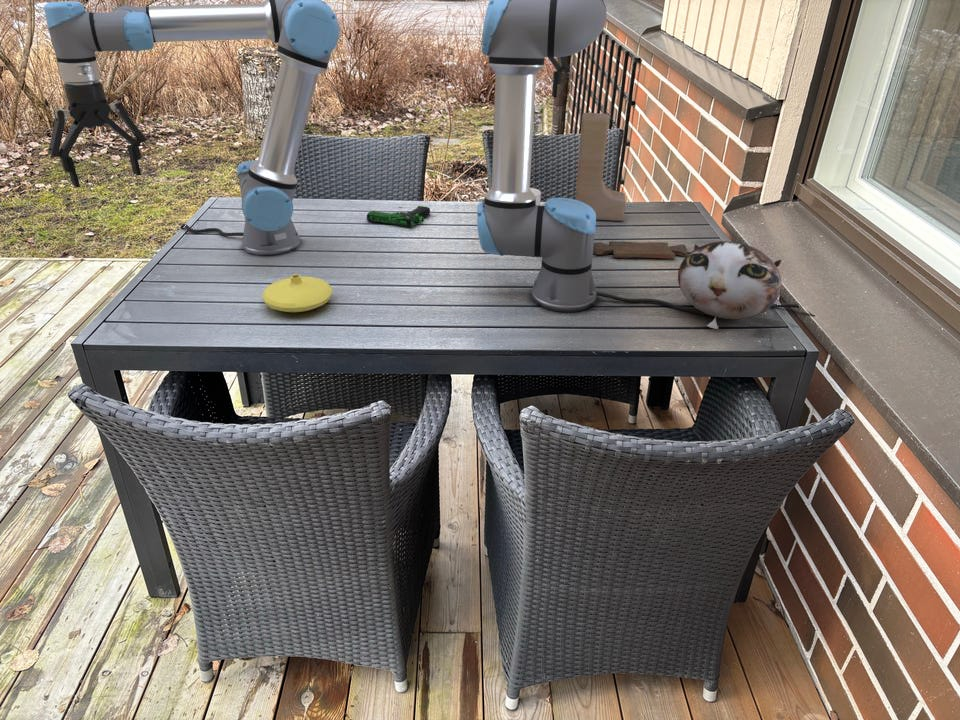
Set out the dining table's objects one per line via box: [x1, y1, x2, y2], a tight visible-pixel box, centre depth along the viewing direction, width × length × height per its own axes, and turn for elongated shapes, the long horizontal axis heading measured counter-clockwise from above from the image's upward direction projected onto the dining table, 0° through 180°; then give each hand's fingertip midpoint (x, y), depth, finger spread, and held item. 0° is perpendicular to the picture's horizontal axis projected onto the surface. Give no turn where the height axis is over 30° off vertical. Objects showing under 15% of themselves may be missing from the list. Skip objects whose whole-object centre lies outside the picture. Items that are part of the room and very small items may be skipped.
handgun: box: [366, 205, 431, 229], centre depth 216 cm, size 16×3×15 cm
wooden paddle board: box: [593, 240, 688, 259], centre depth 196 cm, size 26×2×10 cm
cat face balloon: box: [677, 240, 783, 330], centre depth 159 cm, size 22×18×20 cm
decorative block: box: [574, 112, 626, 222], centre depth 213 cm, size 8×15×30 cm, turn 82°
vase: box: [261, 273, 333, 313], centre depth 164 cm, size 16×16×7 cm
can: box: [530, 187, 542, 206], centre depth 215 cm, size 9×9×9 cm
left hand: (107, 180), depth 164 cm, fingers open, 13 cm apart
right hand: (530, 97), depth 199 cm, fingers open, 13 cm apart
